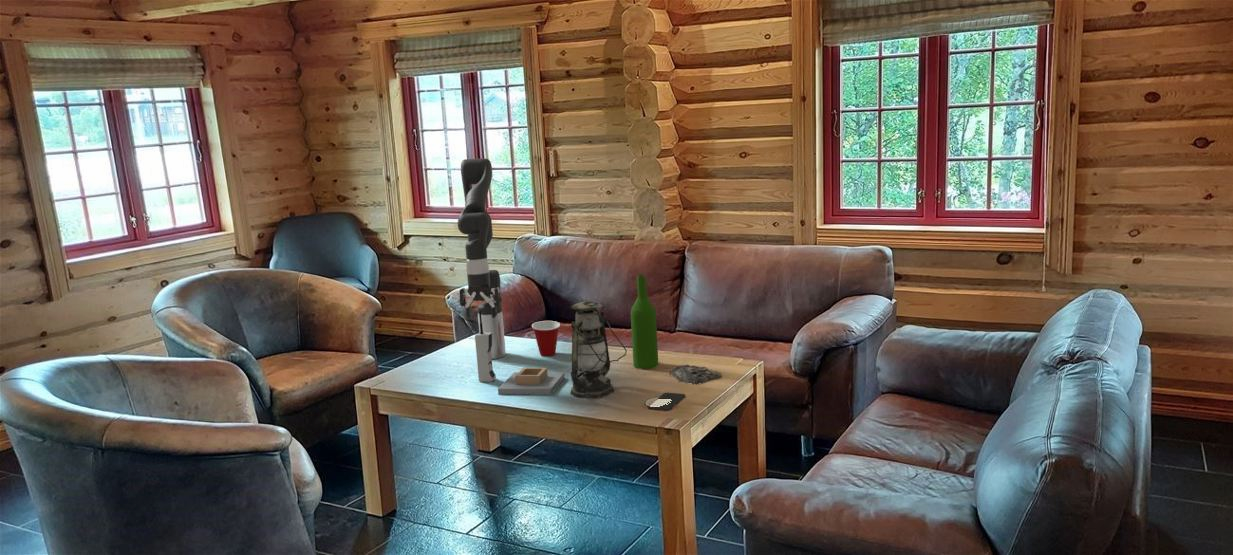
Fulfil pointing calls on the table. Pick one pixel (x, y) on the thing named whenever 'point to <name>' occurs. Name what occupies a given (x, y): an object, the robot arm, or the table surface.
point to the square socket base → (532, 382)
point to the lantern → (590, 352)
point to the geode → (694, 374)
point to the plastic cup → (546, 336)
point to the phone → (675, 400)
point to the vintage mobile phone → (484, 355)
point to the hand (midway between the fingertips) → (482, 317)
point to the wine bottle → (644, 329)
